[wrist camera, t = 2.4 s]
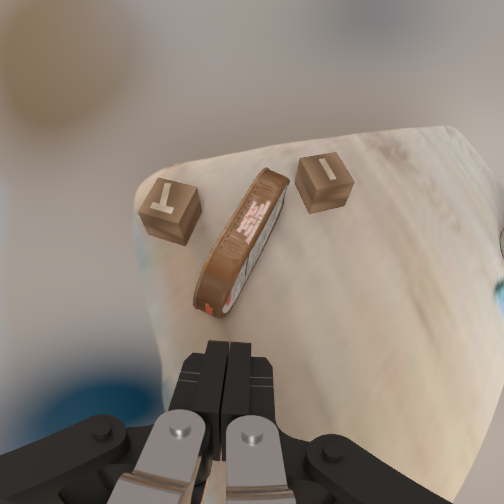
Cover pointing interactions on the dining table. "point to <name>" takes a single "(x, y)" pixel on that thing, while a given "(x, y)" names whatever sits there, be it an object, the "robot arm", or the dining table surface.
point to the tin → (240, 244)
